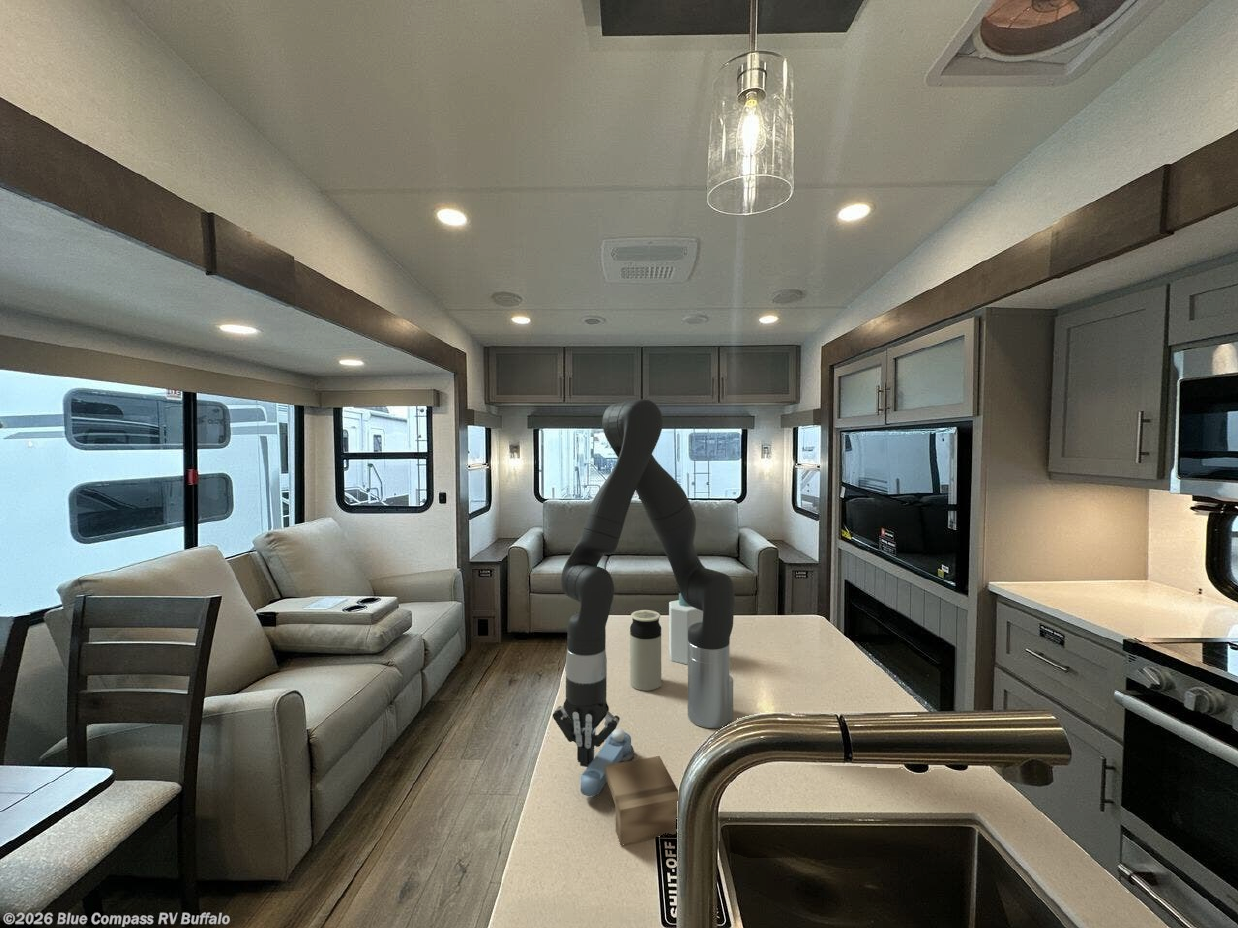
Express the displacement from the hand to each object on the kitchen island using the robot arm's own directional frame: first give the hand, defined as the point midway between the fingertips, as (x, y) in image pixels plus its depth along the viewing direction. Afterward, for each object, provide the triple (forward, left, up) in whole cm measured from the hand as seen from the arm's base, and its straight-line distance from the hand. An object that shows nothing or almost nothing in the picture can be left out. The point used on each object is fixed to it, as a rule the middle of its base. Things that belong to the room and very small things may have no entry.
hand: (585, 763), depth 88 cm
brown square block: (-7, +12, -2) cm, 14 cm away
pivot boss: (-7, -4, -2) cm, 8 cm away
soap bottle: (-37, -42, -2) cm, 56 cm away
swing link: (-4, +1, -1) cm, 4 cm away
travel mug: (-21, -30, -2) cm, 36 cm away
